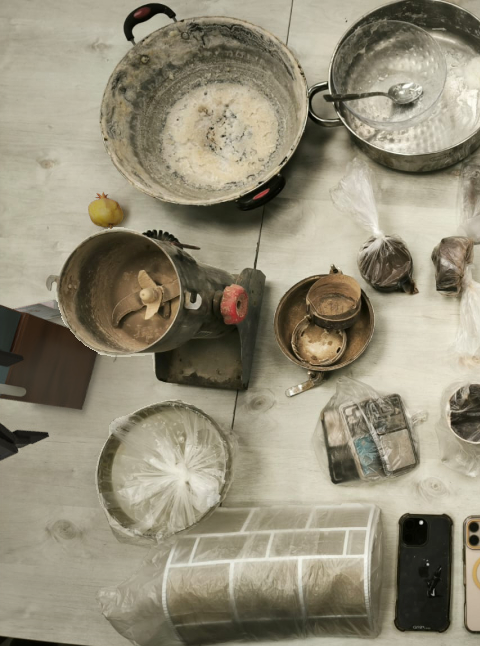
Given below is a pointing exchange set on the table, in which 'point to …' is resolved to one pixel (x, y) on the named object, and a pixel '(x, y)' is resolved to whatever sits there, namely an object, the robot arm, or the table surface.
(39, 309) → the ink box
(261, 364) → the table surface
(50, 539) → the table surface
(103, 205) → the fruit
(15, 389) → the door
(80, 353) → the cabinet
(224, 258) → the table surface
